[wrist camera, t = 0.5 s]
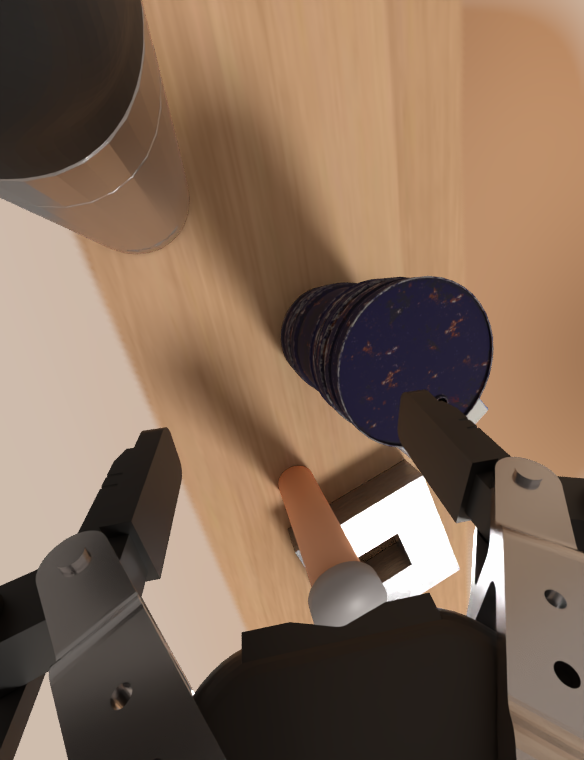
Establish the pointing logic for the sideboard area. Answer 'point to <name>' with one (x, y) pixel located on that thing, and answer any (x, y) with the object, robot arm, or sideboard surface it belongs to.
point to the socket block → (396, 531)
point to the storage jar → (389, 347)
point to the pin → (327, 554)
